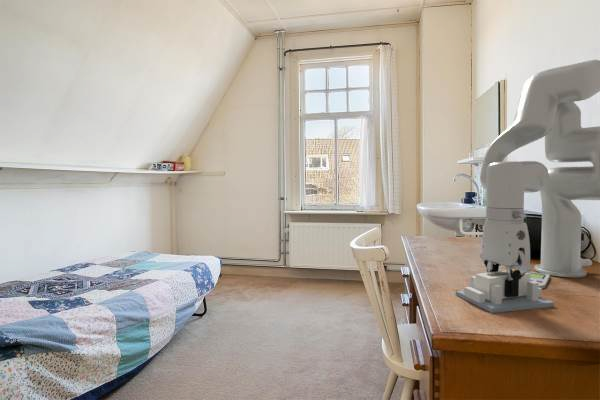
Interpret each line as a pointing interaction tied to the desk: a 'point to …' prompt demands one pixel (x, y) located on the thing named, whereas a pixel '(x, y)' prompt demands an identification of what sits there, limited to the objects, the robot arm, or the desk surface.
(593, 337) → the desk surface
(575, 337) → the desk surface
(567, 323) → the desk surface
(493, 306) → the bracket board
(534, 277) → the handheld gaming console
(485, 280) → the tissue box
